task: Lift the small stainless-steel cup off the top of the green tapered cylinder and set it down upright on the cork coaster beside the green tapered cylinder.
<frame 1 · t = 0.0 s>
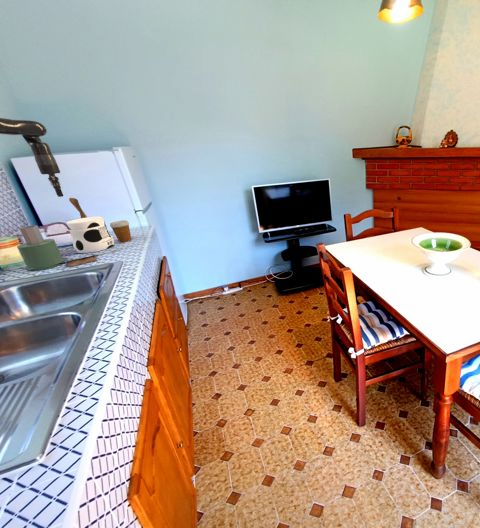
hand: (60, 195, 160), 31 cm above the counter, tool pointing down, fingers open, 8 cm apart
coaster: (82, 261, 152), on the counter
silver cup: (36, 242, 144), point 12 cm above the counter, touching green tapered cylinder
disposable coffee cup: (125, 241, 184), on the counter
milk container: (97, 251, 167), on the counter
green tapered cylinder: (46, 265, 149), on the counter
wooden handled tool: (94, 243, 184), on the counter
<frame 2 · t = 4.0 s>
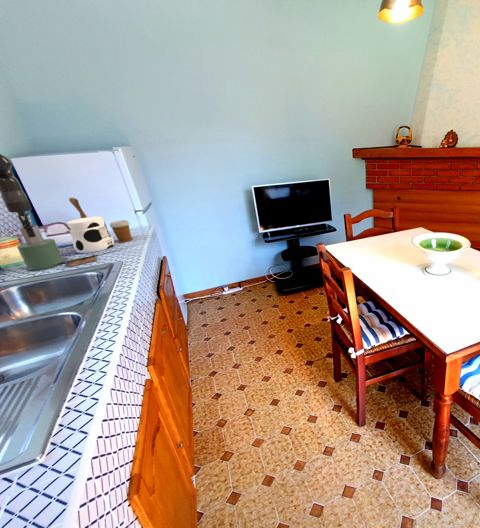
hand: (32, 235, 143), 16 cm above the counter, tool pointing down, fingers closed on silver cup, 6 cm apart
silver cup: (36, 242, 144), point 12 cm above the counter, touching green tapered cylinder, gripper
everything else where it was.
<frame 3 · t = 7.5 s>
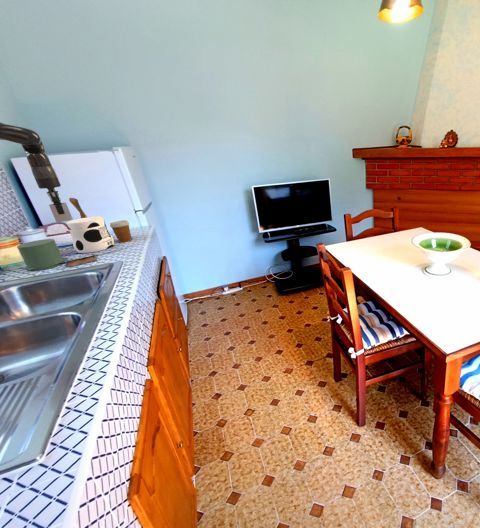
hand: (61, 213, 142), 25 cm above the counter, tool pointing down, fingers closed on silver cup, 6 cm apart
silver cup: (64, 220, 144), point 21 cm above the counter, touching gripper
everything else where it was.
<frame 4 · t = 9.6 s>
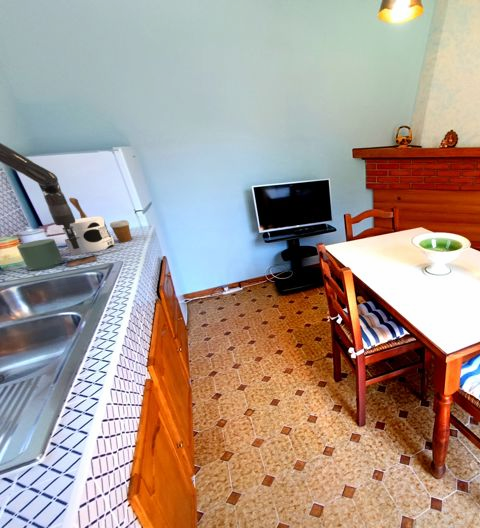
hand: (76, 247, 149), 8 cm above the counter, tool pointing down, fingers closed on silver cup, 6 cm apart
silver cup: (79, 253, 150), point 4 cm above the counter, touching gripper
everything else where it was.
when the fingers open (4 cm above the counter, at t = 11.2 s): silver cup stays where it is, resting on coaster.
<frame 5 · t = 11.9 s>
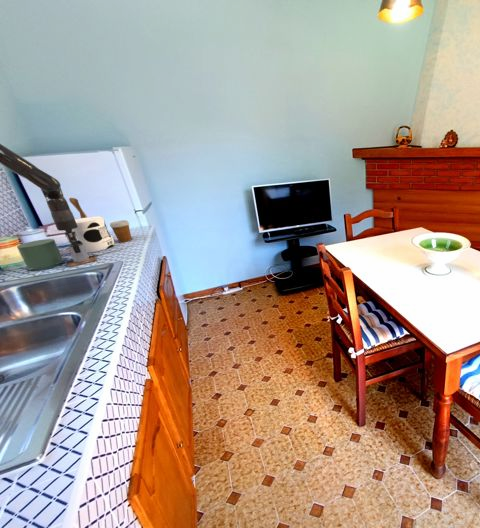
hand: (77, 251, 150), 6 cm above the counter, tool pointing down, fingers open, 8 cm apart
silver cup: (81, 260, 152), point 1 cm above the counter, touching coaster
everything else where it was.
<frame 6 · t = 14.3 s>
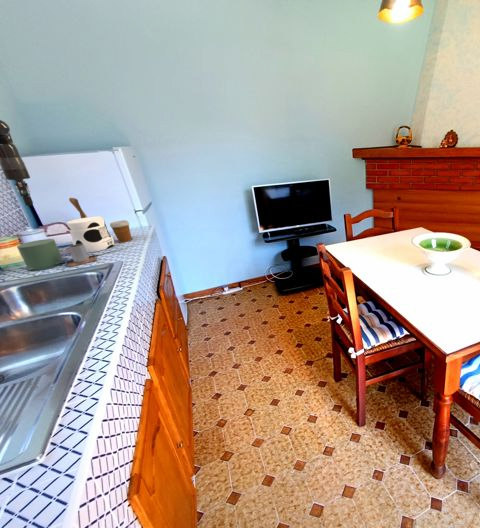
hand: (29, 204, 139), 30 cm above the counter, tool pointing down, fingers open, 8 cm apart
nothing on the counter moved.
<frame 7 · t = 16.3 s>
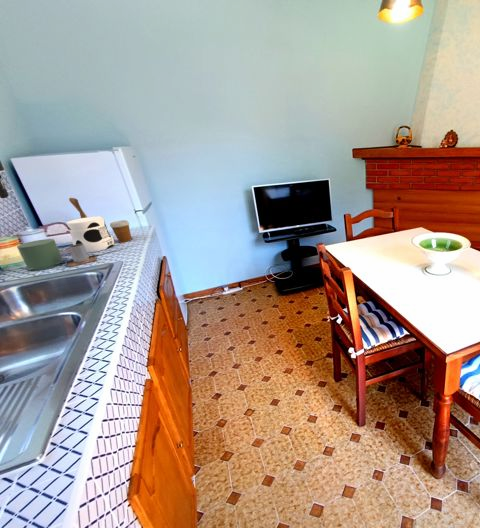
hand: (5, 197, 137), 34 cm above the counter, tool pointing down, fingers open, 8 cm apart
nothing on the counter moved.
at the end: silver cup 0.1 cm off-centre on the coaster, point 0.6 cm above the coaster's base; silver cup tilted 0°; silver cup touching coaster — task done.
